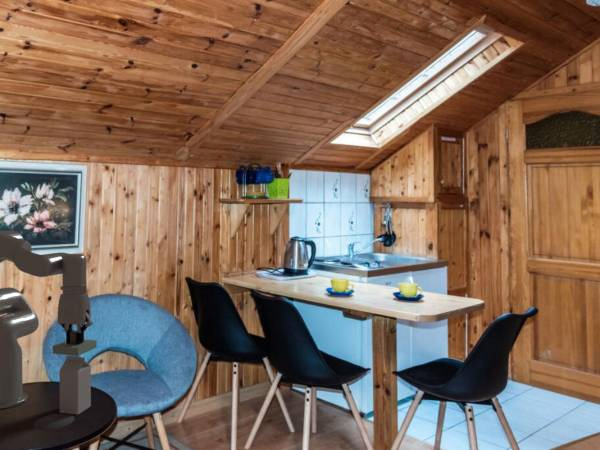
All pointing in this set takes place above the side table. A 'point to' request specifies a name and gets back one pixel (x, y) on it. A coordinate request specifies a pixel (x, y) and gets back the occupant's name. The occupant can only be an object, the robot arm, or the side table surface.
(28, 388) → the side table surface
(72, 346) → the square plate with knob
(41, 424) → the mat
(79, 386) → the milk carton
